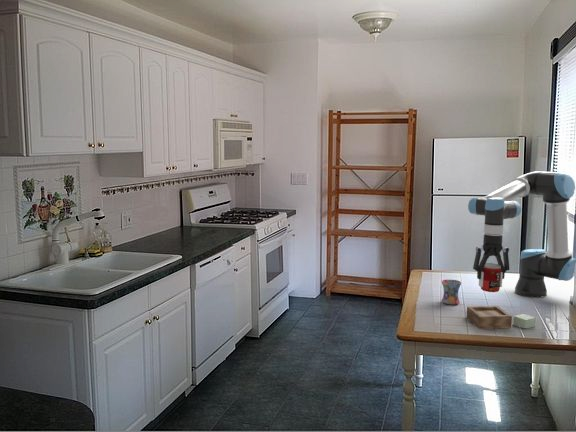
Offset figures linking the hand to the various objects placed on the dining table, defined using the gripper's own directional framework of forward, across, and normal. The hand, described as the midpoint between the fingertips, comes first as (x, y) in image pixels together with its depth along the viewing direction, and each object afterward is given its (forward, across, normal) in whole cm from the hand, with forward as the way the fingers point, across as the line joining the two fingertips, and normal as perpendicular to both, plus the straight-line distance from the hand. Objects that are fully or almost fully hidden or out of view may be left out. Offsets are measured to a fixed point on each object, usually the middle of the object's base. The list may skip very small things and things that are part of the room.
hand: (490, 286), depth 236 cm
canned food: (+2, 0, 0) cm, 2 cm away
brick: (+17, -14, +4) cm, 22 cm away
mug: (+17, +6, -30) cm, 35 cm away
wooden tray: (+16, 0, 0) cm, 16 cm away
